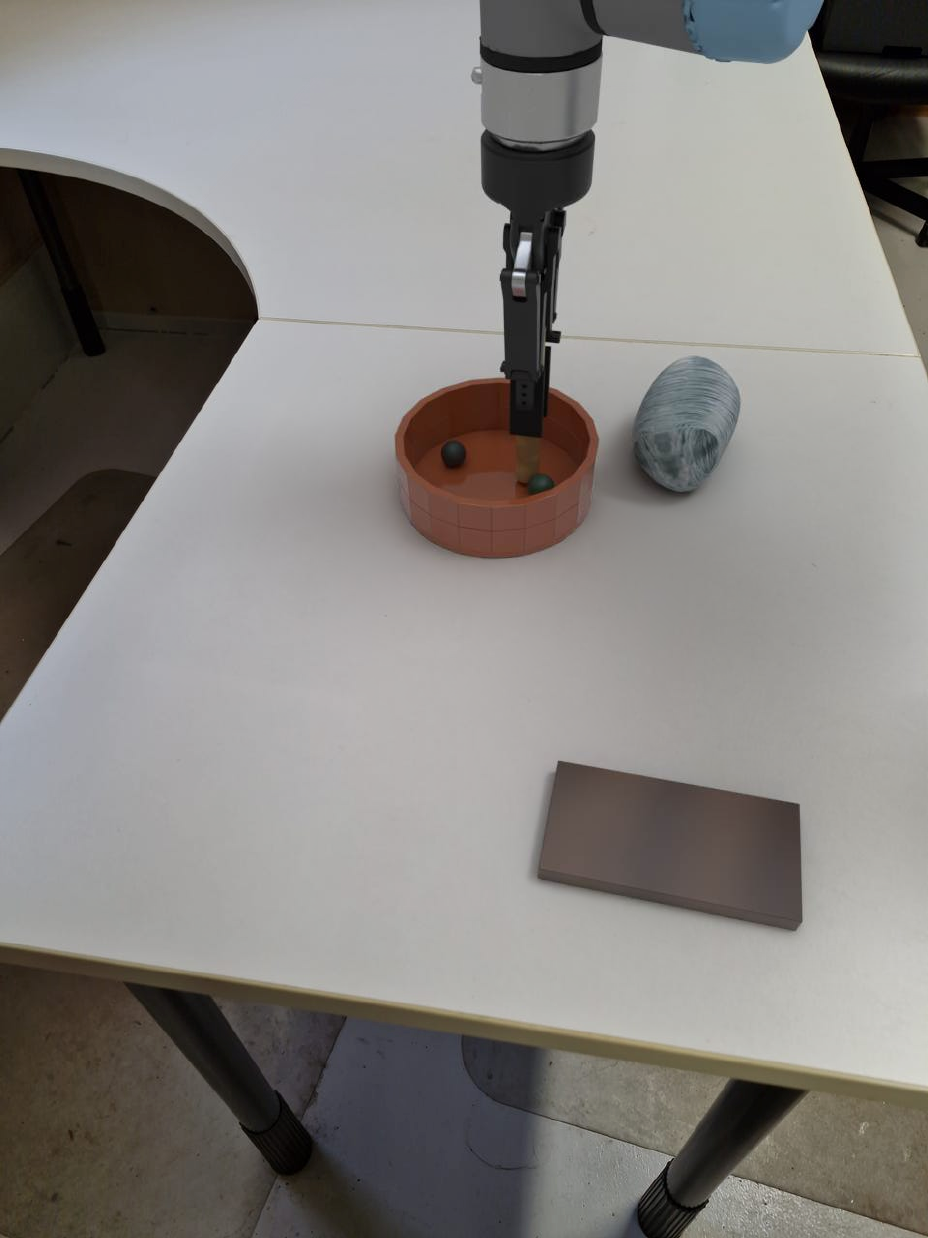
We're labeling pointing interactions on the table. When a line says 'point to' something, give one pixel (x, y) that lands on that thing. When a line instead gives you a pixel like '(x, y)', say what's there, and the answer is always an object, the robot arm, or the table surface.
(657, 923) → the table surface
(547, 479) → the bead
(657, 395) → the blue yarn skein
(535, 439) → the stick
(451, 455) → the bead
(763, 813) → the brown board
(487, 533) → the bowl
